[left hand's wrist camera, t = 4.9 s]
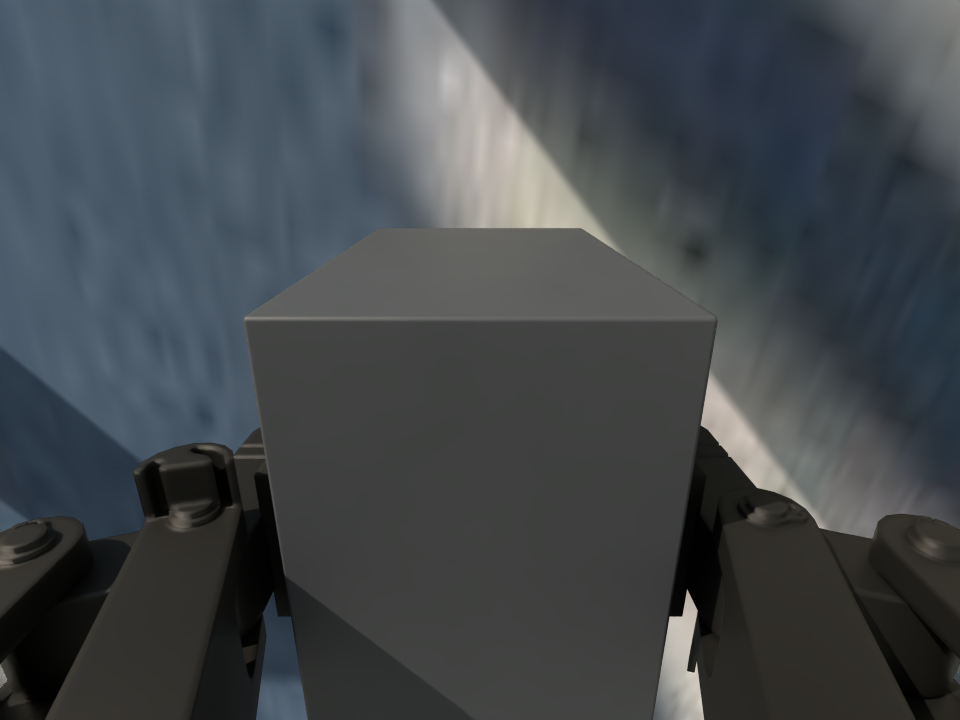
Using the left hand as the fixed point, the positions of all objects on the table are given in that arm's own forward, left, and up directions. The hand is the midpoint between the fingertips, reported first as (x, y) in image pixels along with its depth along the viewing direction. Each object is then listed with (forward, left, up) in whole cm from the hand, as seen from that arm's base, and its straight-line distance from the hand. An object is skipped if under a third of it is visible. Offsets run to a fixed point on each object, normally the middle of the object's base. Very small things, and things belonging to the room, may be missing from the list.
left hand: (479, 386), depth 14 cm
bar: (+8, 0, -1) cm, 8 cm away
